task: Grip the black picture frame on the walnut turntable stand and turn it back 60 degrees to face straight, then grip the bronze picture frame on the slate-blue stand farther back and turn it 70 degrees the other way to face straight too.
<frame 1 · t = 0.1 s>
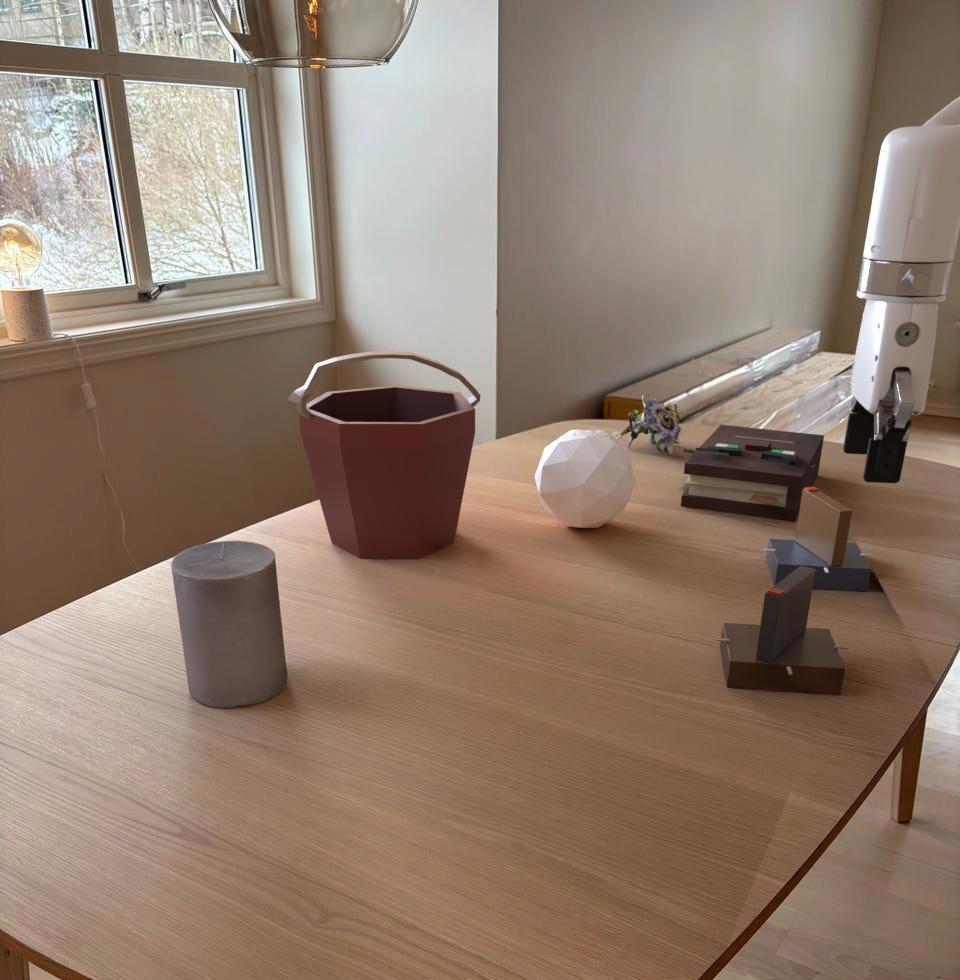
hand: (869, 466, 96), 21 cm above the table, tool pointing down, fingers open, 9 cm apart
bucket: (392, 538, 137), on the table
passion flower: (648, 451, 177), on the table
stand near: (777, 670, 102), on the table
geodesic sphere: (582, 525, 142), on the table
stand far: (814, 575, 125), on the table
decorative book: (752, 491, 156), on the table
frame far: (822, 525, 122), point 7 cm above the table, hinge at -70.0°
pillar candle: (238, 687, 99), on the table
frame near: (786, 611, 99), point 7 cm above the table, hinge at 60.0°
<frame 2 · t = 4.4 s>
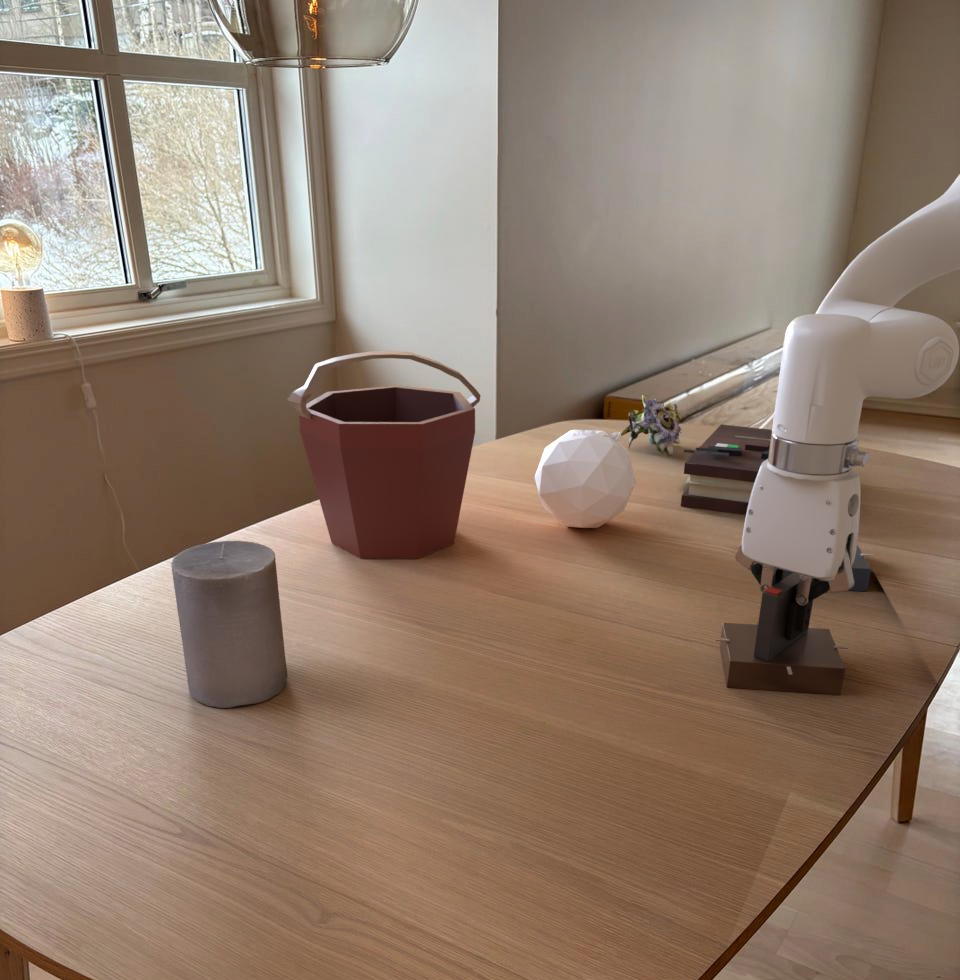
hand: (783, 630, 100), 5 cm above the table, tool pointing down, fingers closed on frame near
frame near: (786, 611, 99), point 7 cm above the table, hinge at 56.2°, touching gripper
everything else where it was.
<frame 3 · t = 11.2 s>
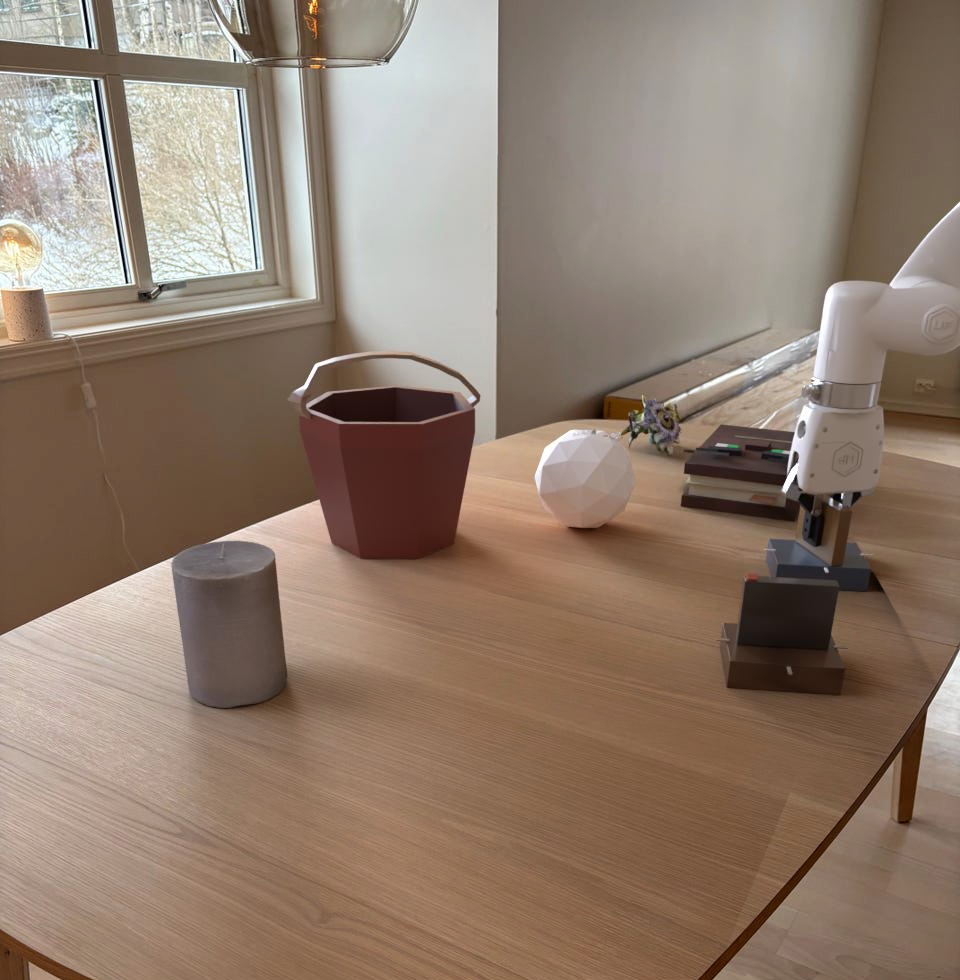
hand: (819, 541, 123), 5 cm above the table, tool pointing down, fingers closed on frame far
frame far: (822, 525, 122), point 7 cm above the table, hinge at -70.0°, touching gripper
frame near: (786, 611, 99), point 7 cm above the table, hinge at 0.0°
everything else where it was.
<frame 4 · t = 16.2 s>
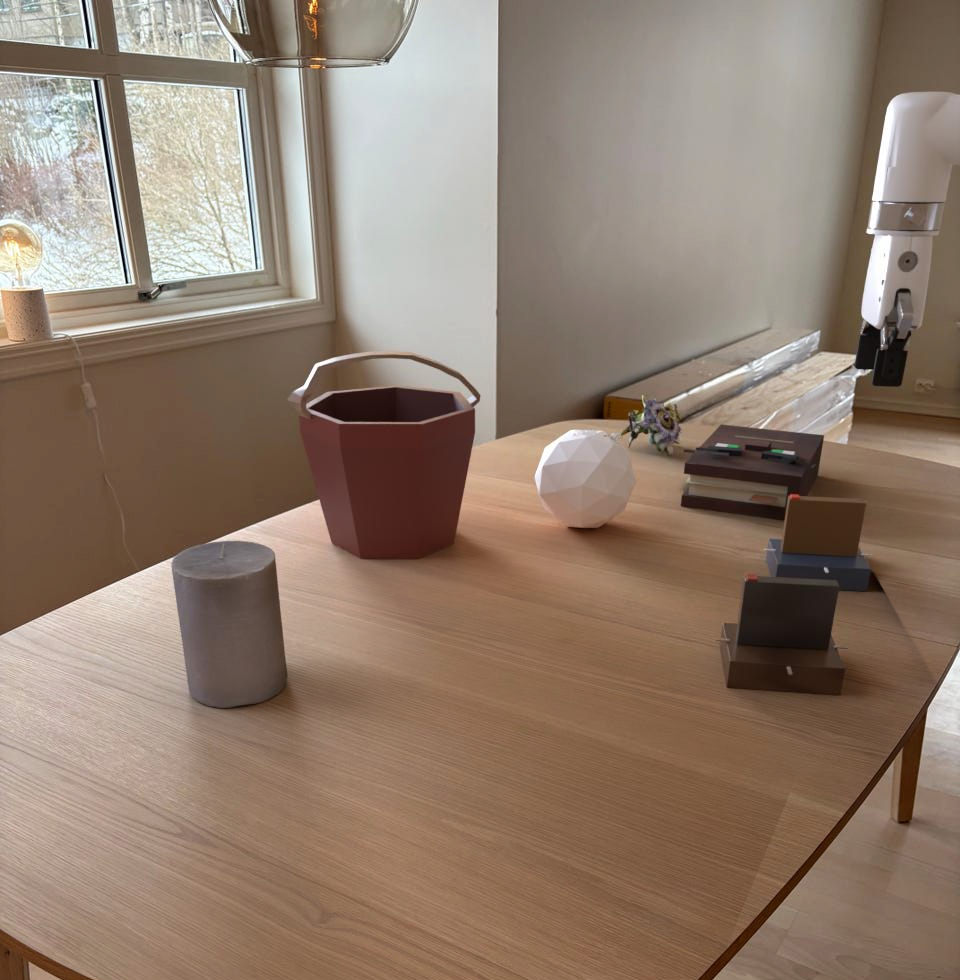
hand: (876, 377, 116), 24 cm above the table, tool pointing down, fingers open, 9 cm apart
frame far: (822, 525, 122), point 7 cm above the table, hinge at -0.7°
everything else where it was.
at the end: frame near at +0° (first picture: +60°); frame far at -1° (first picture: -70°) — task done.
